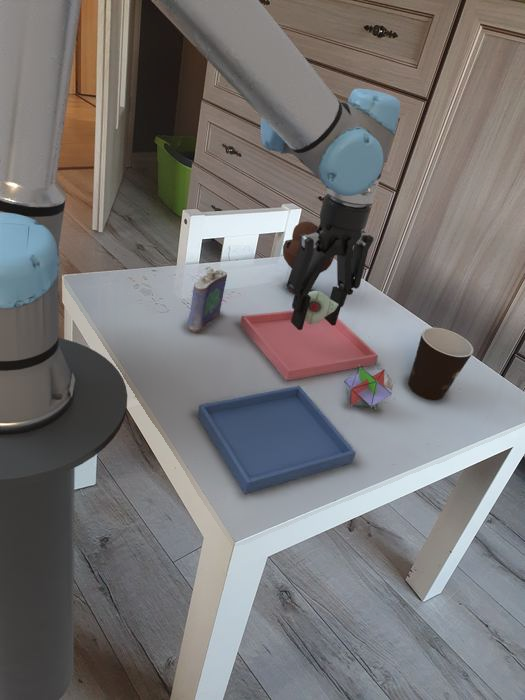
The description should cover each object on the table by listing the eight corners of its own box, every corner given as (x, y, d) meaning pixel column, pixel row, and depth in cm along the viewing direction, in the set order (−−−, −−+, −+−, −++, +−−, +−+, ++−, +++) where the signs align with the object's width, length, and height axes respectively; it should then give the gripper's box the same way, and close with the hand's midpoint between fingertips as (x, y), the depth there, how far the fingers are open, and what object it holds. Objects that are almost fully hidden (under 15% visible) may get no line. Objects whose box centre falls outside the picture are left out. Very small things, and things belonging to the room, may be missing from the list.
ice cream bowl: (288, 304, 112) (305, 236, 104) (266, 278, 120) (280, 212, 112) (332, 302, 116) (351, 236, 108) (307, 276, 124) (324, 214, 116)
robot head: (332, 325, 99) (342, 292, 95) (330, 336, 96) (340, 302, 92) (290, 313, 100) (298, 281, 96) (286, 324, 96) (294, 290, 93)
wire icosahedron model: (355, 413, 83) (391, 374, 82) (327, 386, 87) (361, 348, 86) (373, 425, 88) (407, 388, 87) (346, 399, 92) (379, 364, 91)
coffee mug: (427, 409, 91) (450, 361, 85) (392, 378, 96) (411, 331, 91) (471, 395, 97) (495, 349, 92) (435, 367, 103) (456, 322, 97)
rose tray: (286, 380, 90) (288, 371, 89) (240, 324, 101) (241, 315, 100) (375, 364, 99) (378, 355, 98) (323, 315, 111) (326, 306, 110)
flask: (196, 334, 96) (204, 280, 90) (182, 328, 97) (189, 274, 91) (222, 315, 103) (231, 263, 97) (209, 309, 104) (217, 258, 98)
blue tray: (244, 493, 68) (247, 483, 67) (197, 415, 79) (199, 404, 78) (352, 462, 77) (356, 452, 76) (296, 395, 87) (299, 385, 86)
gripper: (309, 208, 78) (277, 341, 91) (409, 208, 87) (367, 328, 100) (283, 189, 83) (256, 318, 96) (381, 191, 93) (344, 307, 105)
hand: (313, 323), depth 98 cm, fingers closed on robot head, 6 cm apart
